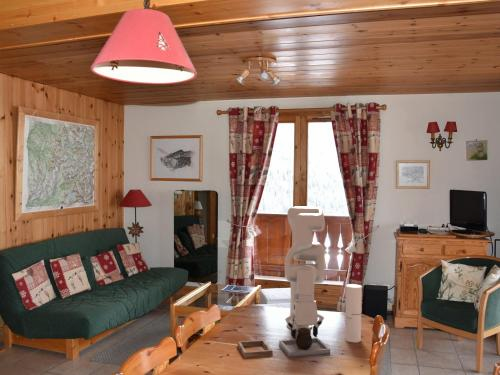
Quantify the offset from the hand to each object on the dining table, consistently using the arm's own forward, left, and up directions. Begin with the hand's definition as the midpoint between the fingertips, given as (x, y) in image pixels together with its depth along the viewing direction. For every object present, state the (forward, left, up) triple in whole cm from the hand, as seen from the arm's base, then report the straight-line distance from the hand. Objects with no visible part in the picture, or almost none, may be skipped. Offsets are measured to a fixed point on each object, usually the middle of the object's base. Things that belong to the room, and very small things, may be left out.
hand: (304, 337), depth 194 cm
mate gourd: (0, 0, -5) cm, 5 cm away
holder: (-4, -21, -6) cm, 22 cm away
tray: (0, 0, -6) cm, 6 cm away
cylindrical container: (-8, +27, -6) cm, 29 cm away
